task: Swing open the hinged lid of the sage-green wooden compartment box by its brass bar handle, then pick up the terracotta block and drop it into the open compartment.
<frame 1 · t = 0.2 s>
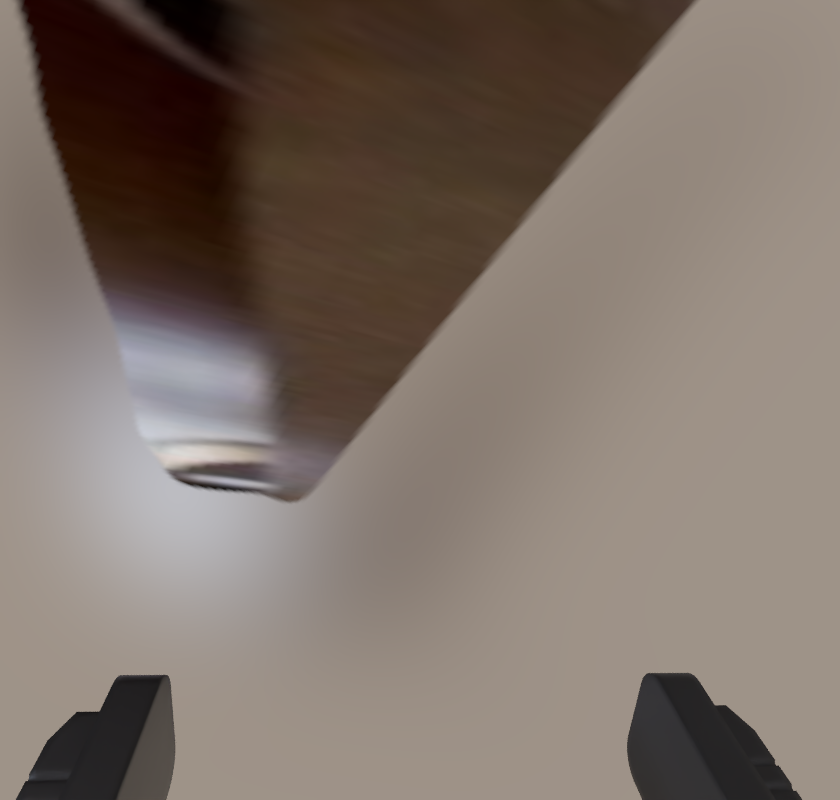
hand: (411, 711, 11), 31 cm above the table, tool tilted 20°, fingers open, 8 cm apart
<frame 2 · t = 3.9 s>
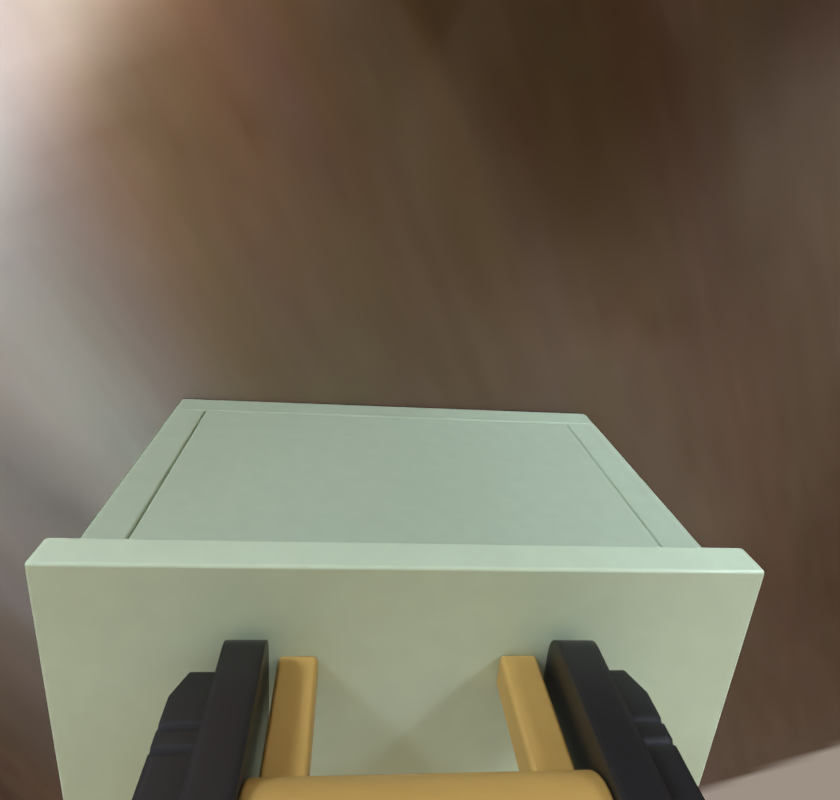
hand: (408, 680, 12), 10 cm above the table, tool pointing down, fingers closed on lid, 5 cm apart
chest: (378, 598, 23), on the table
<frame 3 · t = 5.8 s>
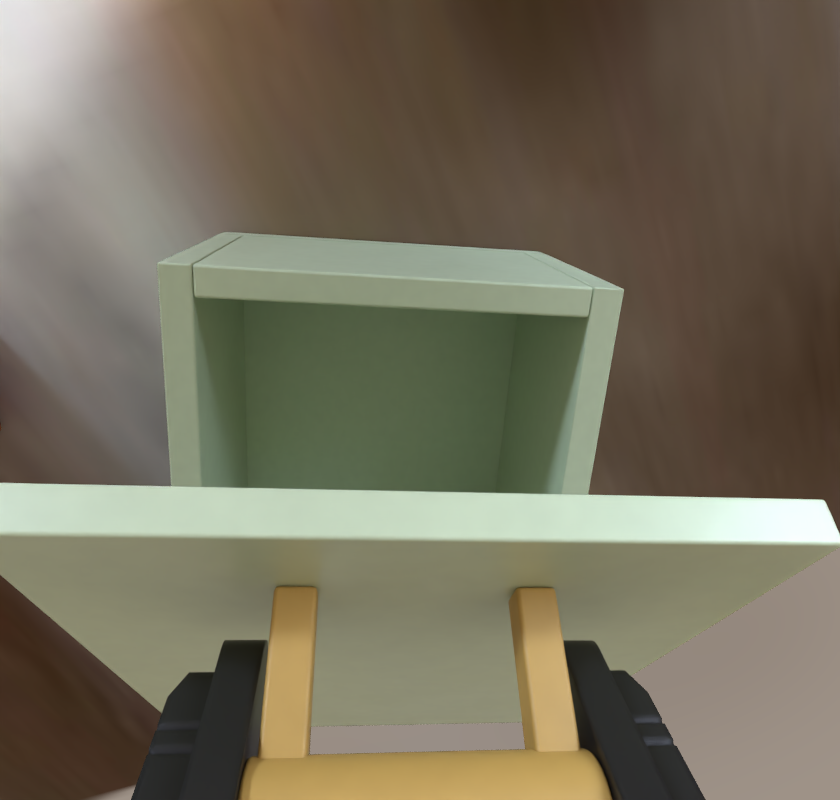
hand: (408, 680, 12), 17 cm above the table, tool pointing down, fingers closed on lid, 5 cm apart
chest: (377, 413, 28), on the table
lid: (392, 750, 14), point 16 cm above the table, hinge at 35.0°, touching gripper
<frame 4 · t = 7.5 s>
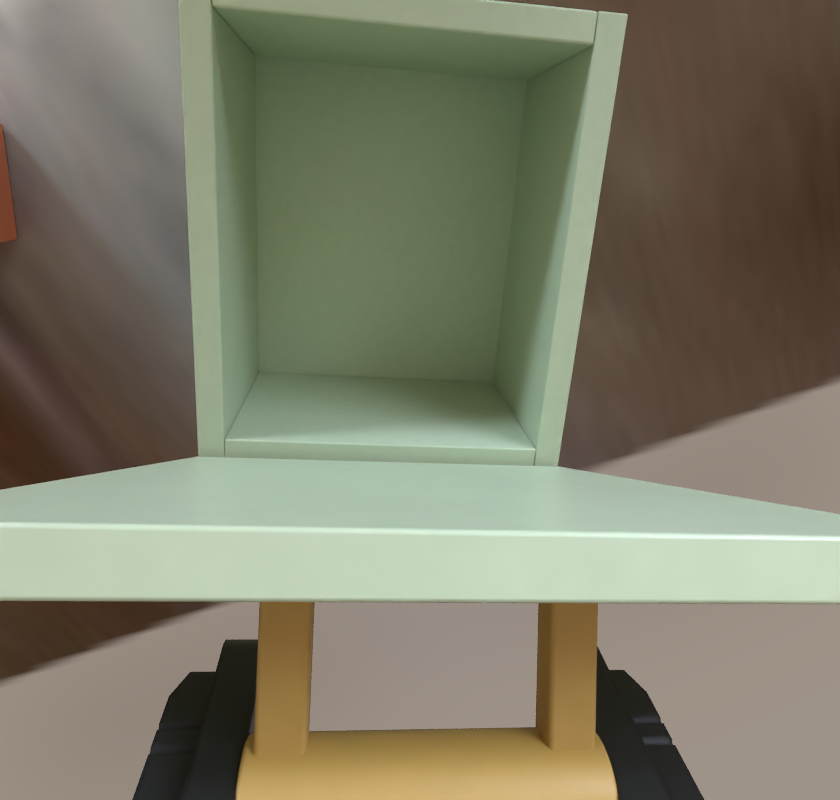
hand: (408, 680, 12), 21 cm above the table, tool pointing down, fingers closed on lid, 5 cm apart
chest: (384, 232, 29), on the table
lid: (398, 588, 15), point 17 cm above the table, hinge at 67.9°, touching gripper
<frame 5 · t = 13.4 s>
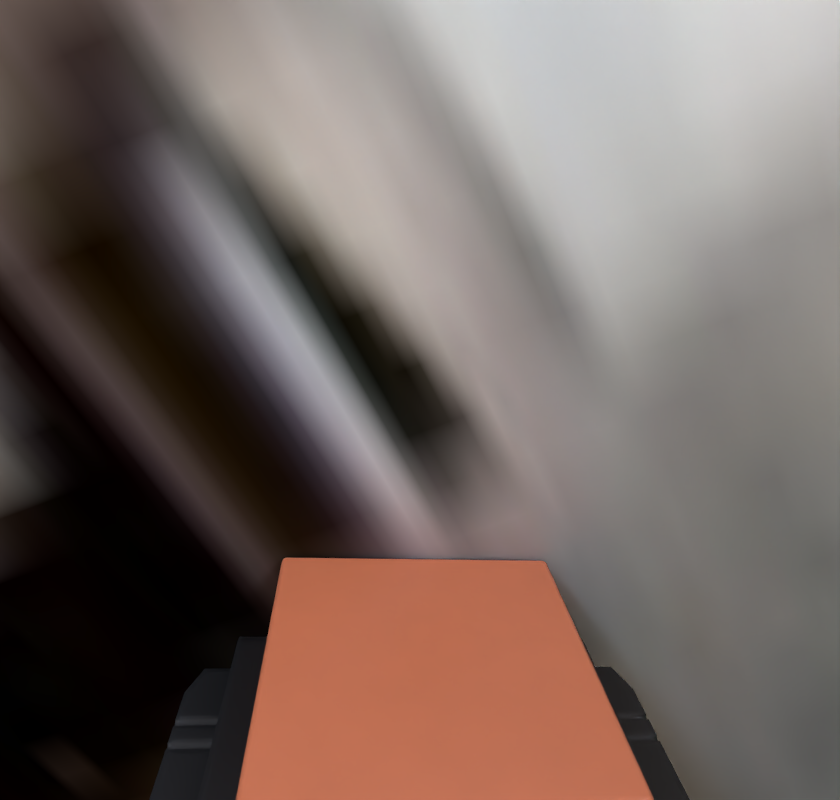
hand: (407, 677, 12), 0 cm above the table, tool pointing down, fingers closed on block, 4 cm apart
block: (408, 662, 12), on the table, touching gripper
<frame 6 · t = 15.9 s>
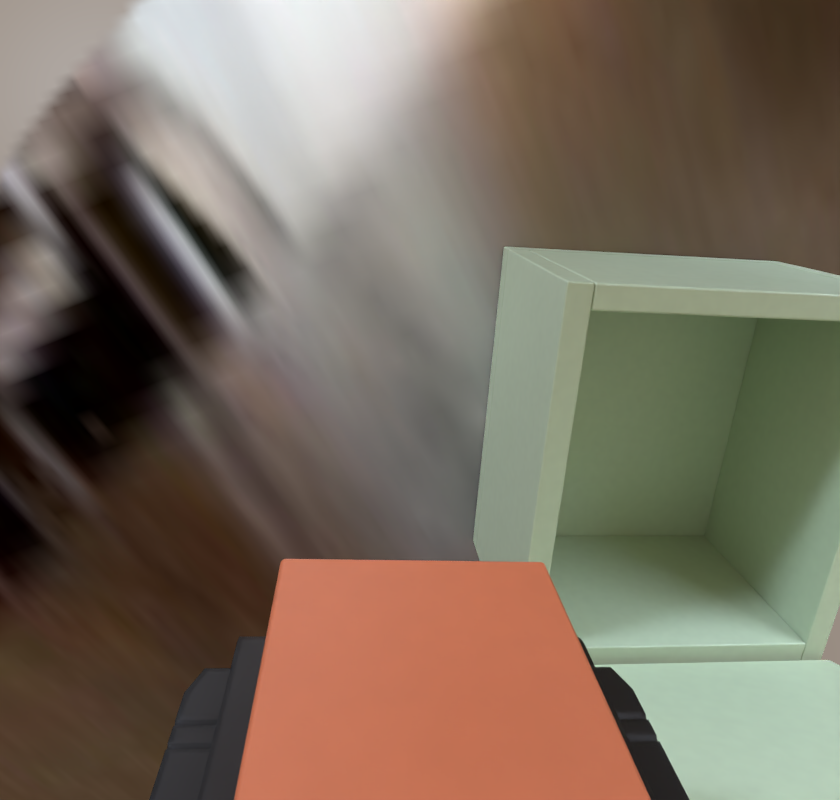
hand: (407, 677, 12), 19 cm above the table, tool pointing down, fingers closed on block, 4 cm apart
chest: (616, 408, 31), on the table
block: (406, 663, 12), point 19 cm above the table, touching gripper
when the fingers open (15 cm above the table, at t = 18.6 s): block drops 14 cm, resting on chest.
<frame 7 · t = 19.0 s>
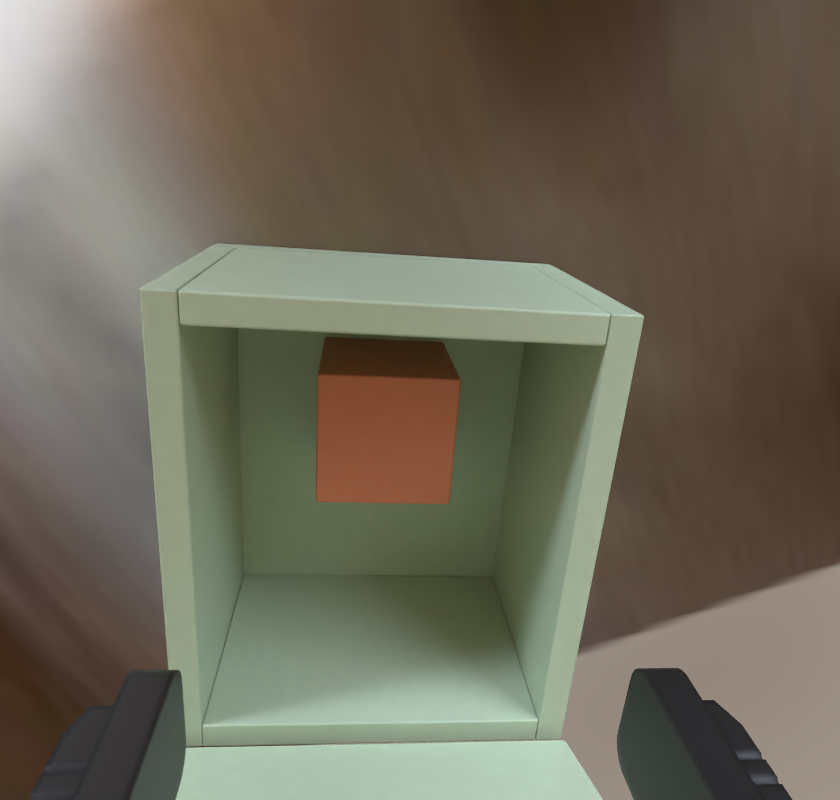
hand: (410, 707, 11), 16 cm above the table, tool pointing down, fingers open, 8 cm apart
chest: (377, 432, 27), on the table
block: (382, 395, 25), point 1 cm above the table, touching chest
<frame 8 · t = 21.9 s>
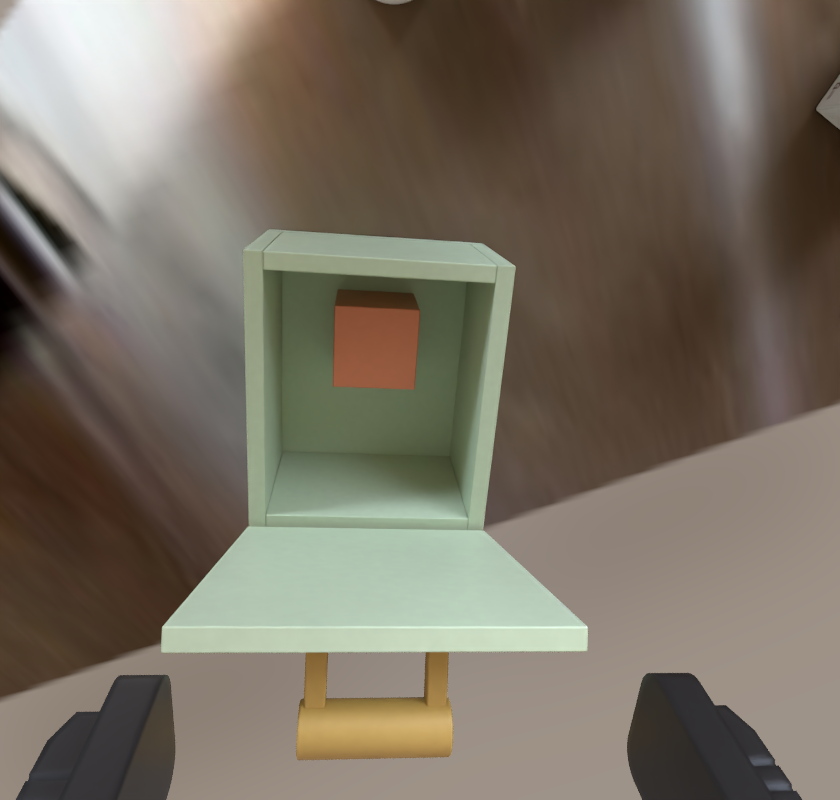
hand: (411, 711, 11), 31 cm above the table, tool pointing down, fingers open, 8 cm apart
chest: (371, 355, 41), on the table
lid: (371, 622, 27), point 17 cm above the table, hinge at 68.8°
block: (374, 328, 39), point 1 cm above the table, touching chest
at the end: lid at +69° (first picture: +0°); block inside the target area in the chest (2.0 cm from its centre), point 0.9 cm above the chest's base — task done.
